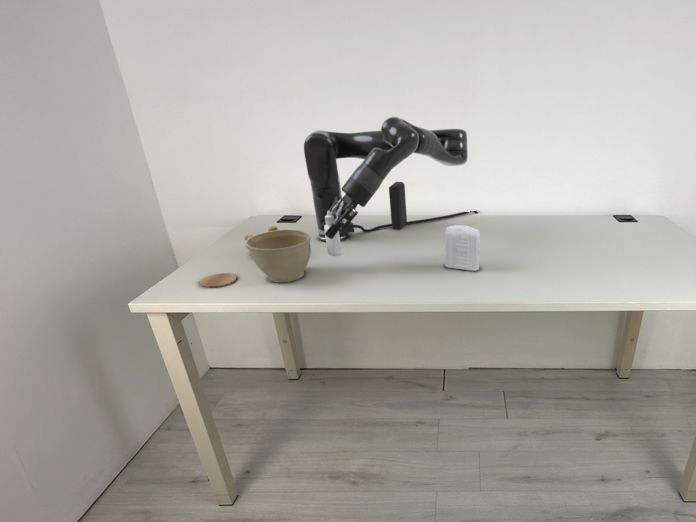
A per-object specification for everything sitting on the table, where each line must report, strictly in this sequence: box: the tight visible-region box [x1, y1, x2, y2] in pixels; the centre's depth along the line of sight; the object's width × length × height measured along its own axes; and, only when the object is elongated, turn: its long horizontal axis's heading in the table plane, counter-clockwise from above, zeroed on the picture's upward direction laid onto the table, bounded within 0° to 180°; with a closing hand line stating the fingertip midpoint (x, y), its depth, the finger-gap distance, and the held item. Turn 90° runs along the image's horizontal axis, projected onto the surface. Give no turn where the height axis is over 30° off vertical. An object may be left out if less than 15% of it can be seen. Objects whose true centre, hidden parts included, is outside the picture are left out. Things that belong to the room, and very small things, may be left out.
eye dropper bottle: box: [324, 211, 343, 257], centre depth 130 cm, size 4×6×12 cm
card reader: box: [388, 181, 408, 230], centre depth 169 cm, size 9×4×15 cm, turn 172°
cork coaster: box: [199, 273, 237, 289], centre depth 128 cm, size 9×9×1 cm
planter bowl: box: [245, 229, 312, 283], centre depth 128 cm, size 16×16×11 cm
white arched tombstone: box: [444, 224, 481, 272], centre depth 134 cm, size 10×4×12 cm, turn 73°
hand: (325, 233), depth 130 cm, fingers closed on eye dropper bottle, 5 cm apart
